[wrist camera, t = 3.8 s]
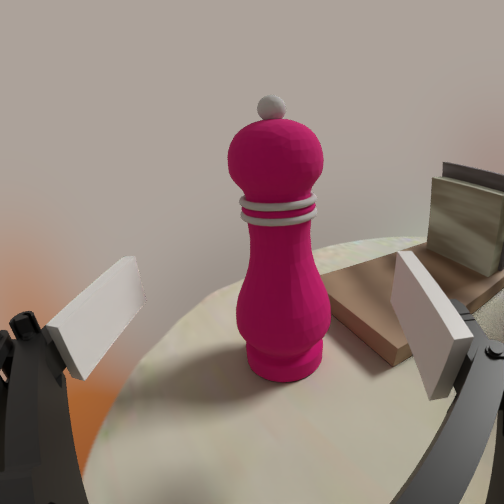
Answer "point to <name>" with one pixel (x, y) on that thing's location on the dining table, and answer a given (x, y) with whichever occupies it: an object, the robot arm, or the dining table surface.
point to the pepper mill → (279, 245)
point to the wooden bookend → (431, 260)
